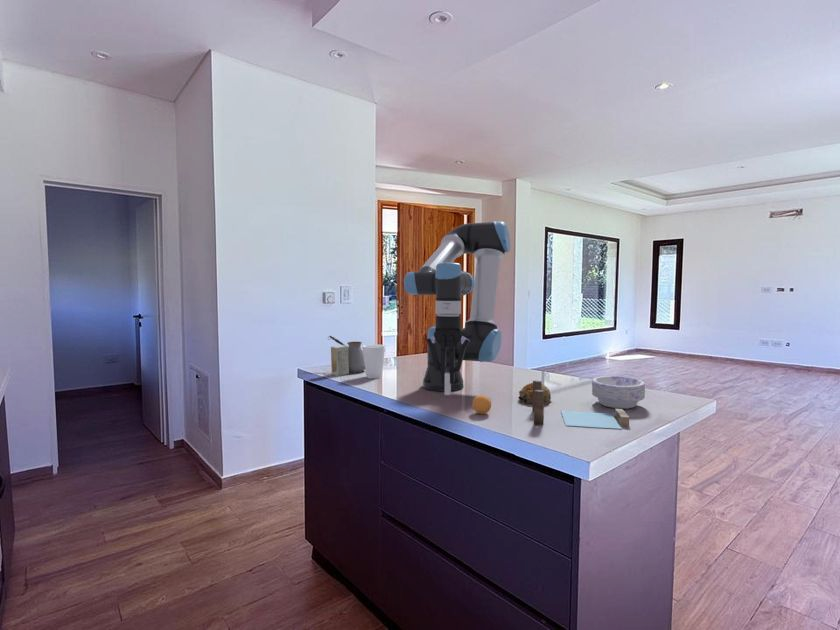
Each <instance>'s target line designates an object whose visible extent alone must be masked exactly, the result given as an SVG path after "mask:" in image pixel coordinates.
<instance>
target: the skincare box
mask: <svg viewBox="0 0 840 630" xmlns="http://www.w3.org/2000/svg"><path fill="white" fill-rule="evenodd" d="M344 345H345V344H344ZM344 345H341V344H340V345H337V346H335V345H334V346H331V347H330V358H331V359H330V361H331V375H332V376H334V377H335V376H336V377H340V376H344V375H349V374H350V373H349V363H348V347H349V346H348V345H346V346H344Z"/></svg>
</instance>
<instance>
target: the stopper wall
mask: <svg viewBox="0 0 840 630" xmlns="http://www.w3.org/2000/svg"><path fill="white" fill-rule="evenodd" d="M614 419H615V420H616V421H617V423H618V424H619V426H620V427H630V416H629V415H628V414H627V413H626V411H625V410H624V409H617V408H614Z"/></svg>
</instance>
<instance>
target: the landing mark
mask: <svg viewBox="0 0 840 630" xmlns="http://www.w3.org/2000/svg"><path fill="white" fill-rule="evenodd" d="M560 412H561V416H562V419H563V421H564V425H565V427H573V428H574V427H575V428H576V427H577V428H594V429H610V430H622V426H621V425H620V424H619V422H618V421H617V420H616V418H615V416H613V414H612V413H607V412H591V411H590V412H589V411H588V412H587V411H574V410H573V411H572V410H570V411H569V410H568V411H567V410H561V411H560Z"/></svg>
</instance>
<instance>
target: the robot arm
mask: <svg viewBox="0 0 840 630" xmlns="http://www.w3.org/2000/svg"><path fill="white" fill-rule="evenodd" d="M510 251H511V238H510V231H509V228H508V225H507V223H506V222H504V221H491V222H490V221H488V222H473V223H471V222H468V223H464V224H461V225H459V226H456V227H455V228H453V229H451V231H449V232H448V233H446V234H445V236H443V237H442V239H441V240H440V245H439V247H437V249H436V250H435V251H434V252H433V253H432V254H431V255H430V257H428V259H427V260H426V262H425V263H424V264H423V265H422V266H421V267H420V268H419V270H417V271H409V272H407V273H406V274H405V276H404V280H403V286H404V291H405V292H406V293H407V294H408V295H412V296H413V295H415V296H431V295H432V296H435V314H436V316H435V326H430V327H429V328H428V330H427V338H426V340H425V341H426V342H427V343H426V344H427V348H426V349H427V350H426V351H427V352H426V353H427V367H426V370H425V373H424V375H423V379H422V387H423V389H425V390H430V391H435V392H436V391H437V392H444V396H450V395H451V393H452V392H453V391H458V390H462V389H463V388H464V378H463V375H462V373H461V369H462V364H463V362H464V361H468V362H469V361H470V362H480V363H483V362H485V363H486V362H488V363H490V362H493V361H495V360H496V358H497V357H498V355H499V353H500V349H501V344H502V332H501V330H499V329H498V325H497V323H495V319H494V317H495V309H496V301H497V300H496V299H497V290H498V289H497V288H498V281H499V271H500V262H501V261H502V260H504V259H505V253H509V252H510ZM464 254H473V257H474V258H475V259H476V263H475V266H476V267H475V273H474V276H473V275H472V274H471V273H469V272H467V271H465V270H462V265H461V264H460V263H458V262H455V260H456V259H458V258H460V257H461V256H462V255H464ZM471 292H472V298H471V308H470V316H469V319H467V320H466V321H465V322H464V328H463V327H462V317H461V313H462V296H465V295H469V294H471Z"/></svg>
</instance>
